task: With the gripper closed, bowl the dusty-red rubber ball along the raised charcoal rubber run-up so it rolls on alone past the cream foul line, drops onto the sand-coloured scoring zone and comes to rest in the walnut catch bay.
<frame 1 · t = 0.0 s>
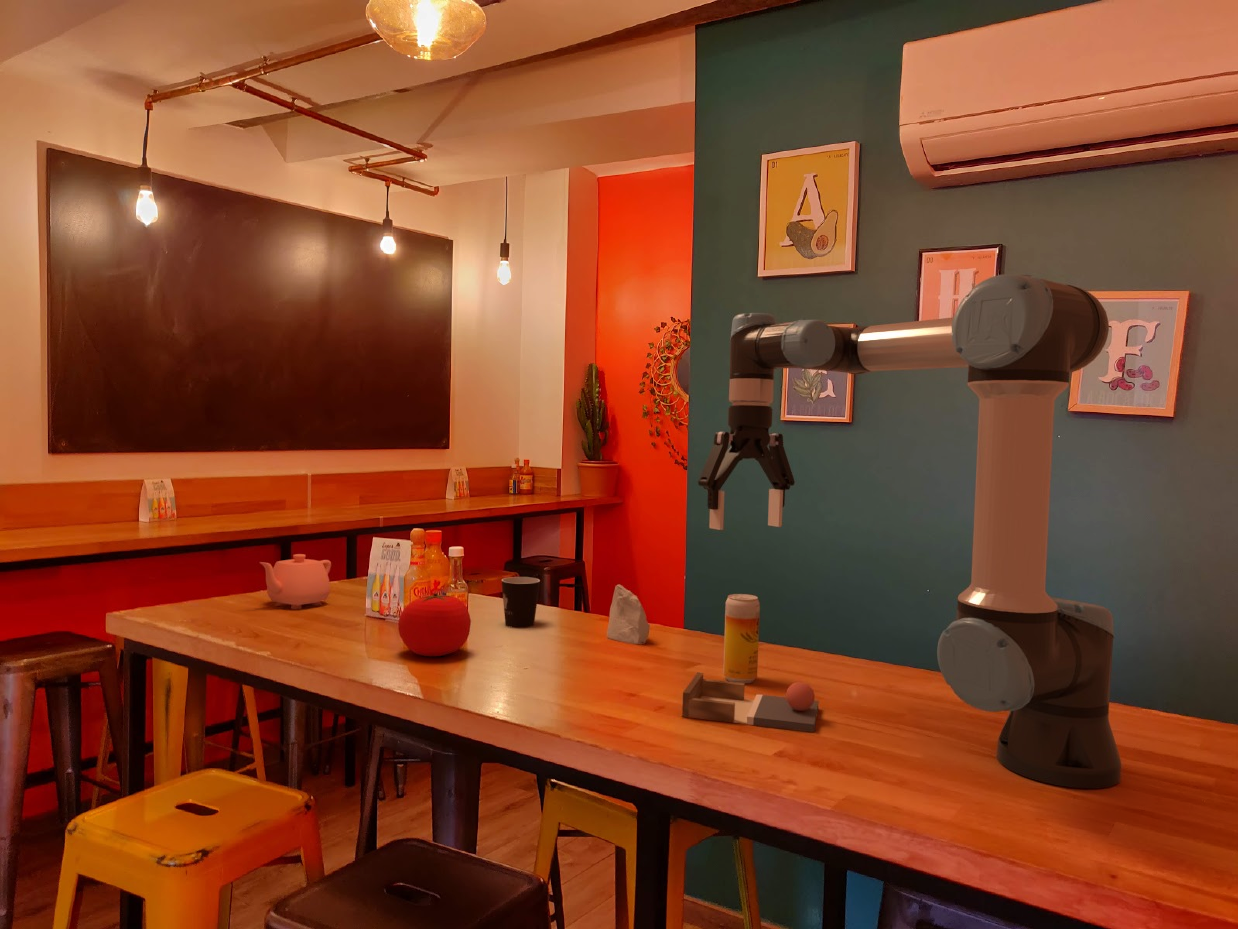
hand: (746, 527, 151), 28 cm above the table, fingers open, 13 cm apart
stone: (628, 640, 185), on the table
tomato: (434, 654, 169), on the table
teapot: (295, 606, 210), on the table
ball: (800, 696, 137), point 3 cm above the table, touching lane mat
catch bay: (714, 708, 141), resting on lane mat
coffee mug: (520, 624, 198), on the table
beer can: (739, 680, 157), on the table
lane mat: (751, 712, 139), on the table
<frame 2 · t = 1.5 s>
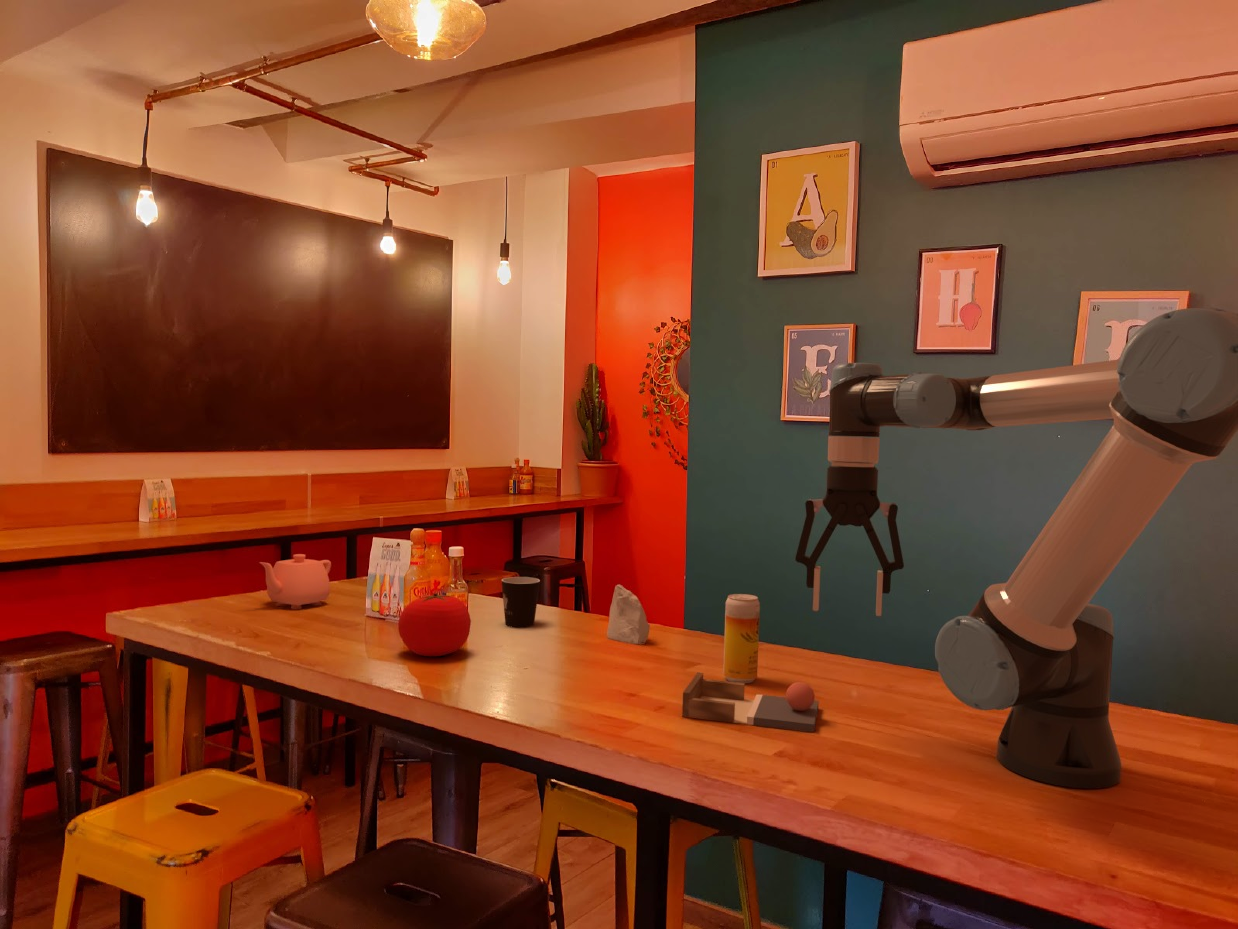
hand: (846, 611, 134), 17 cm above the table, fingers open, 9 cm apart
nothing on the table moved.
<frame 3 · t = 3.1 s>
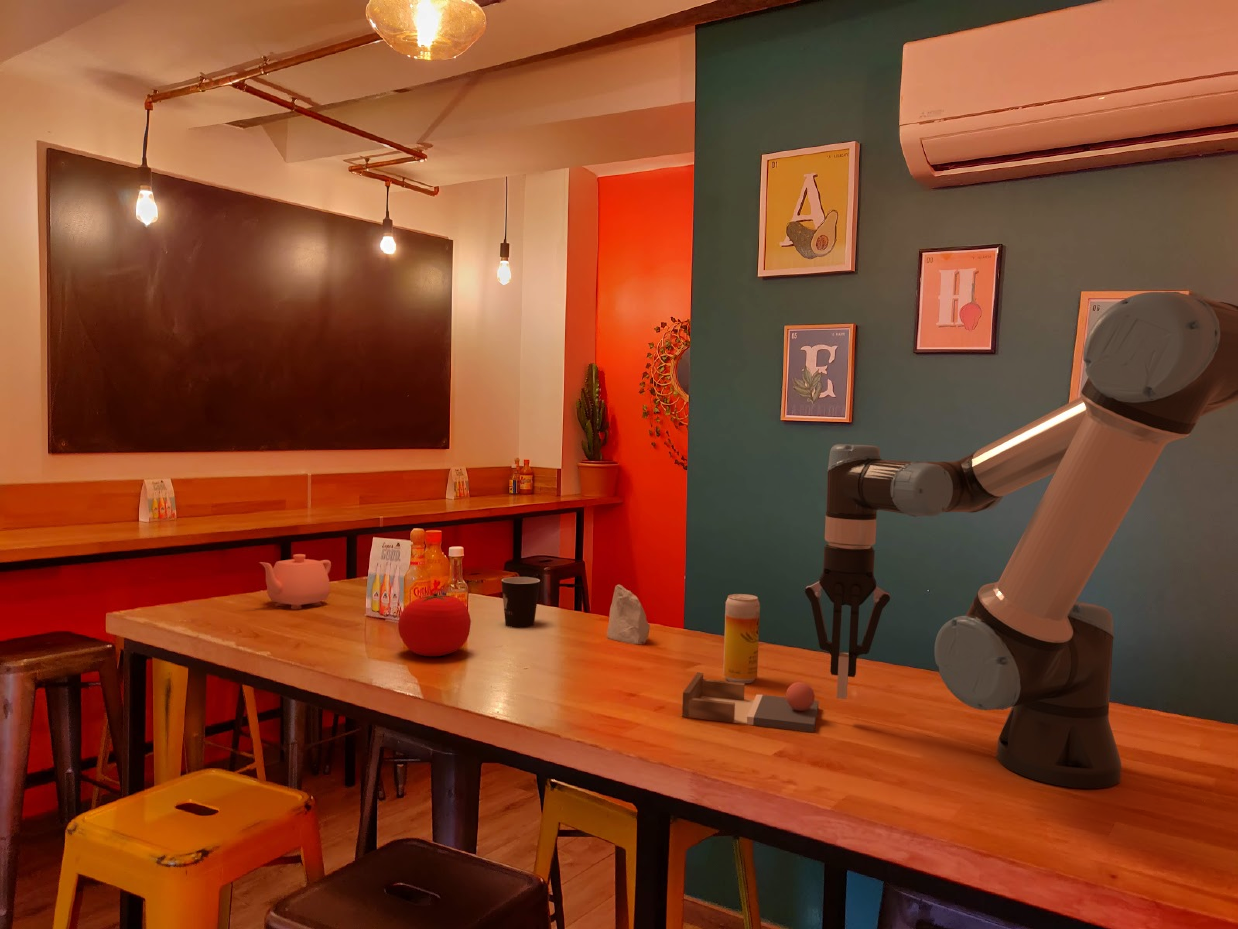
hand: (841, 696, 135), 4 cm above the table, fingers closed
nothing on the table moved.
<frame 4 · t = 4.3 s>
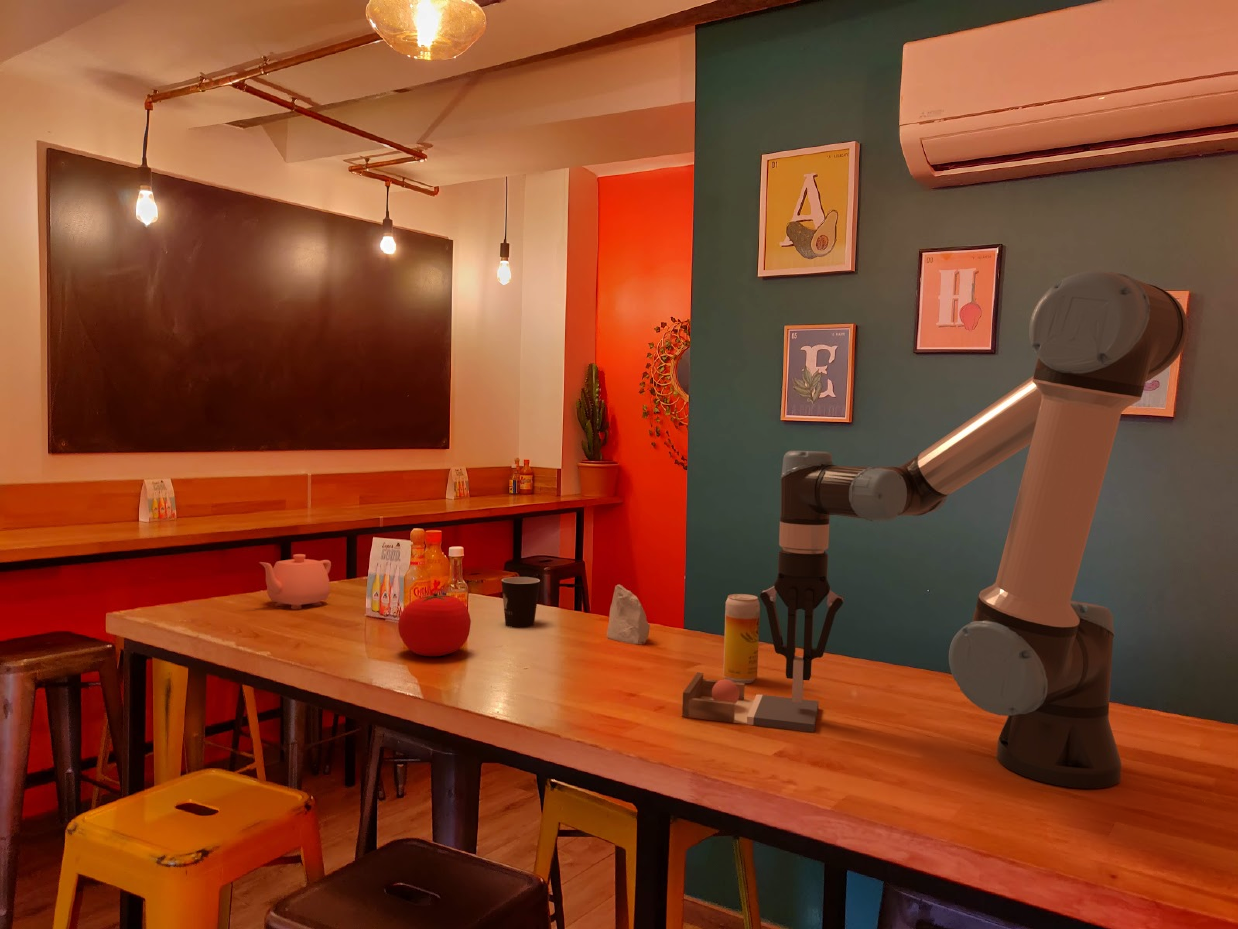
hand: (797, 699, 137), 3 cm above the table, fingers closed
ball: (725, 693, 141), point 2 cm above the table, tilted 58°, touching lane mat
everything else where it was.
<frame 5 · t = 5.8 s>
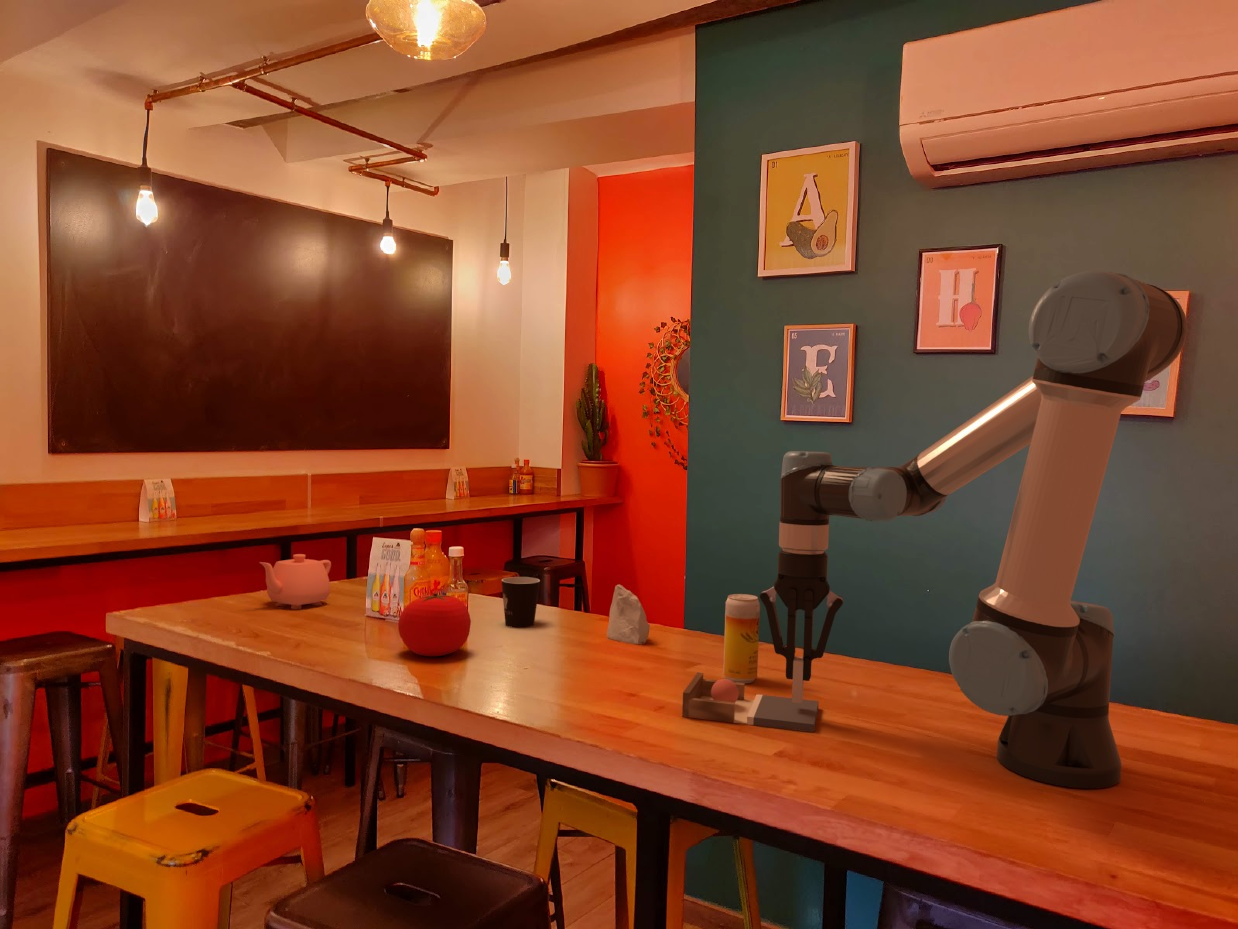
hand: (797, 700, 137), 3 cm above the table, fingers closed
ball: (724, 692, 141), point 2 cm above the table, tilted 45°, touching lane mat
everything else where it was.
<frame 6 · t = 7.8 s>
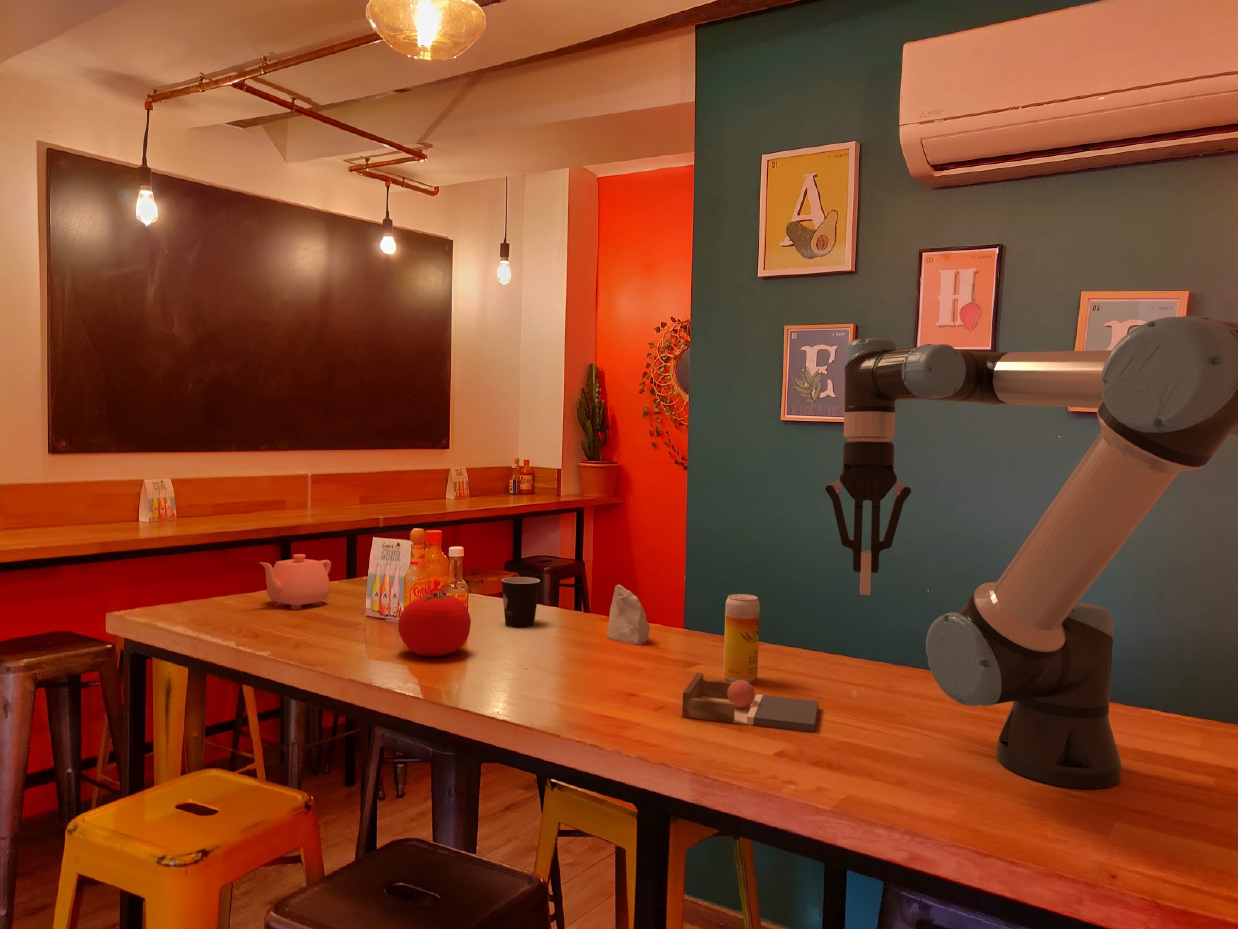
hand: (865, 593, 135), 20 cm above the table, fingers closed
ball: (741, 694, 140), point 2 cm above the table, tilted 113°, touching lane mat
everything else where it was.
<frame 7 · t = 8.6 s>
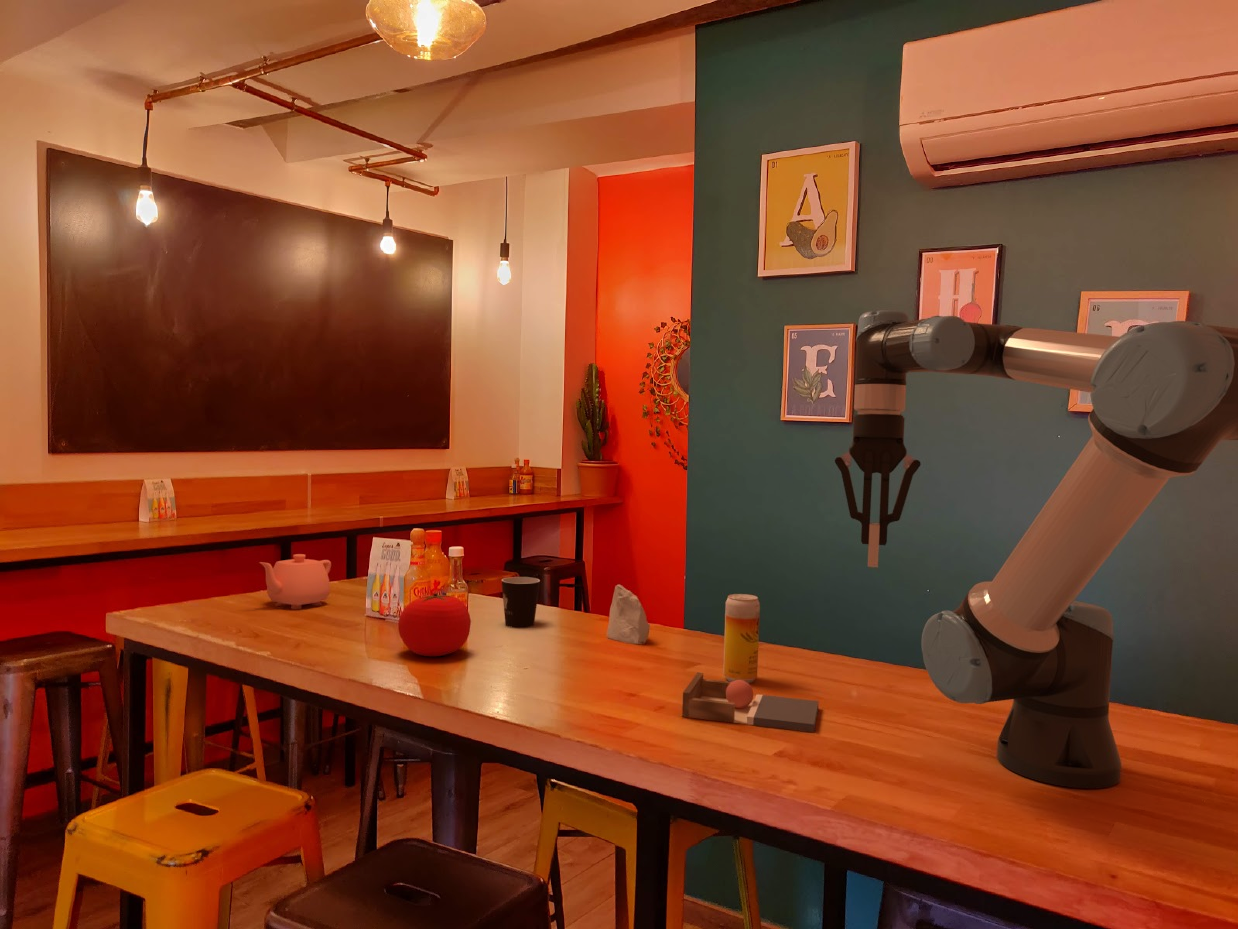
hand: (872, 565, 135), 24 cm above the table, fingers closed
ball: (739, 694, 140), point 2 cm above the table, tilted 106°, touching lane mat
everything else where it was.
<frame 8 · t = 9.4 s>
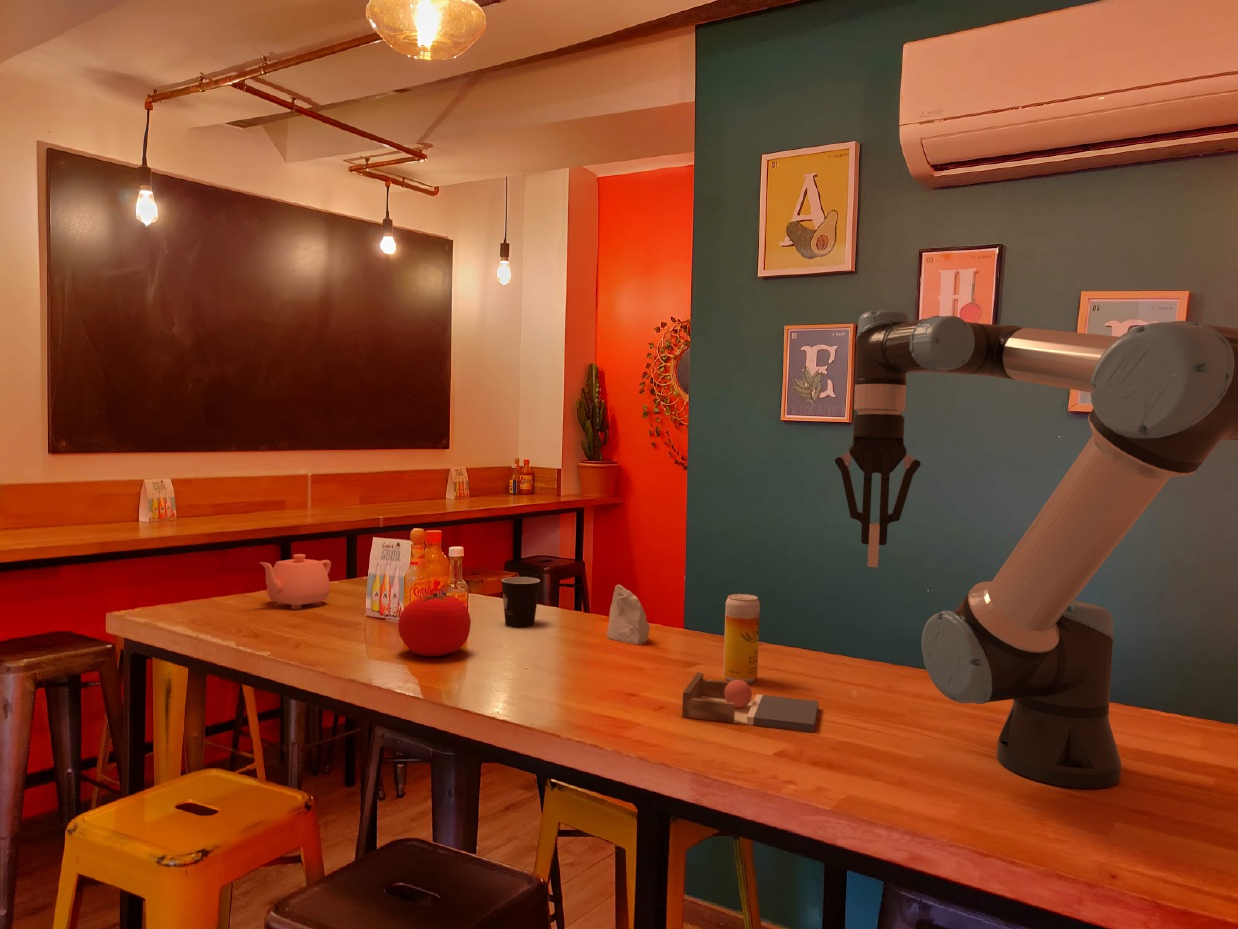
hand: (872, 565, 135), 24 cm above the table, fingers closed
ball: (738, 693, 141), point 2 cm above the table, tilted 100°, touching lane mat
everything else where it was.
at the end: ball 3.7 cm from the catch bay (horizontally); ball point 2.4 cm above the table; ball moved 10.0 cm from its start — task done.
